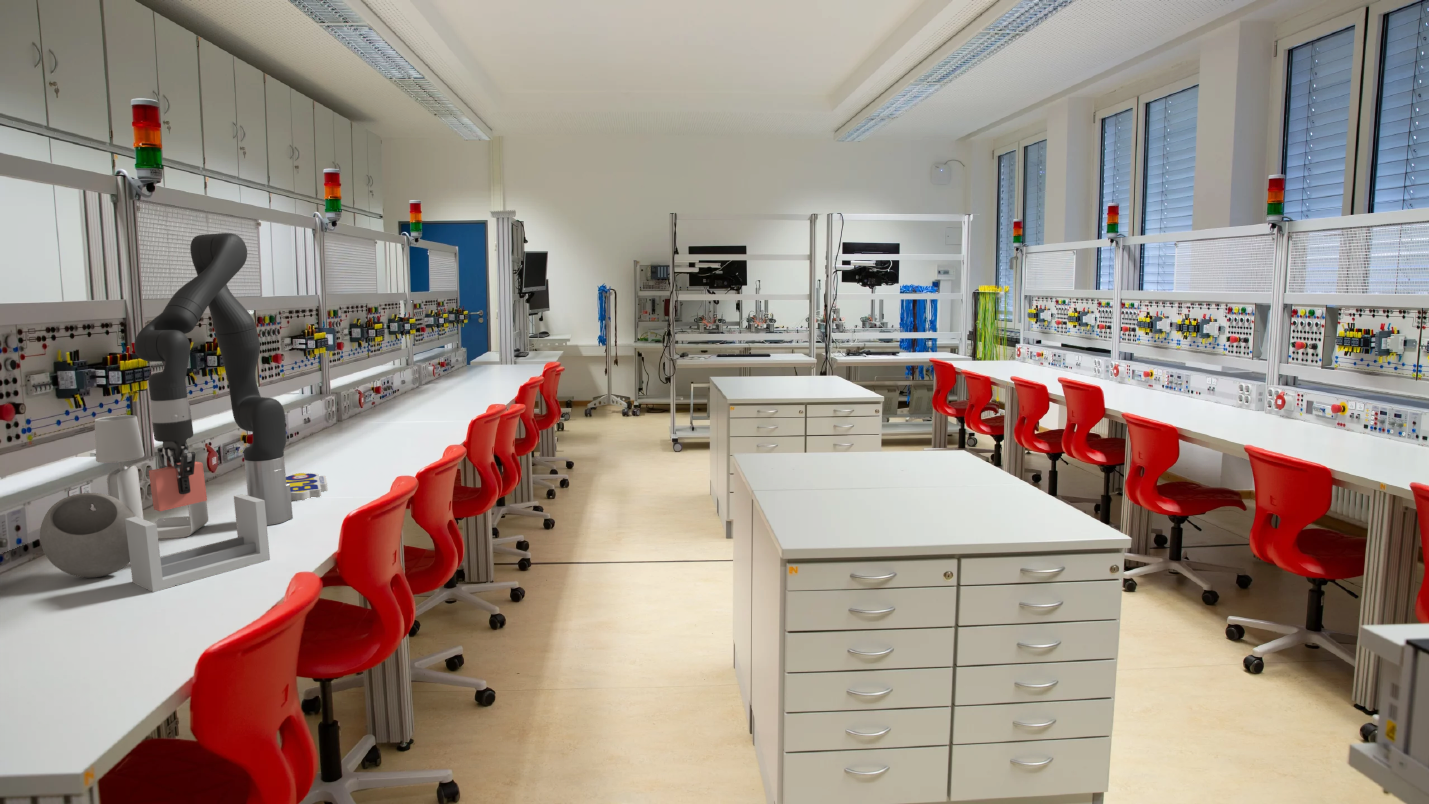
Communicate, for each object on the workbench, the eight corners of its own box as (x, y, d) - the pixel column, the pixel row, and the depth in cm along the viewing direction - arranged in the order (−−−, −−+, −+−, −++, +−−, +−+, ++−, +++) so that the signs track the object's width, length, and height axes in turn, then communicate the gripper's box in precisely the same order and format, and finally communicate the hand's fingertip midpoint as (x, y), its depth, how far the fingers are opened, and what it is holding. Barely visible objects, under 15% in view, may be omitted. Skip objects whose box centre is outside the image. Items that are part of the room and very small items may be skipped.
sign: (328, 489, 246) (251, 498, 237) (329, 498, 246) (252, 507, 237) (324, 470, 271) (254, 477, 262) (324, 478, 271) (254, 485, 262)
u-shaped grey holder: (248, 551, 197) (242, 494, 195) (269, 559, 192) (264, 500, 189) (132, 582, 178) (125, 518, 176) (153, 592, 172) (145, 526, 170)
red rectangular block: (201, 498, 197) (196, 461, 195) (207, 500, 195) (202, 463, 193) (153, 509, 188) (148, 470, 187) (159, 511, 187) (154, 472, 185)
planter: (37, 587, 176) (26, 500, 173) (54, 575, 182) (43, 492, 180) (138, 578, 180) (128, 493, 178) (151, 567, 187) (141, 485, 184)
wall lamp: (192, 536, 209) (179, 418, 205) (96, 542, 205) (81, 422, 201) (209, 524, 219) (197, 412, 215) (118, 530, 215) (104, 415, 211)
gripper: (204, 418, 188) (213, 492, 191) (175, 413, 196) (184, 484, 199) (167, 424, 182) (177, 500, 185) (139, 418, 190) (149, 491, 192)
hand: (181, 491), depth 192 cm, fingers closed on red rectangular block, 3 cm apart
